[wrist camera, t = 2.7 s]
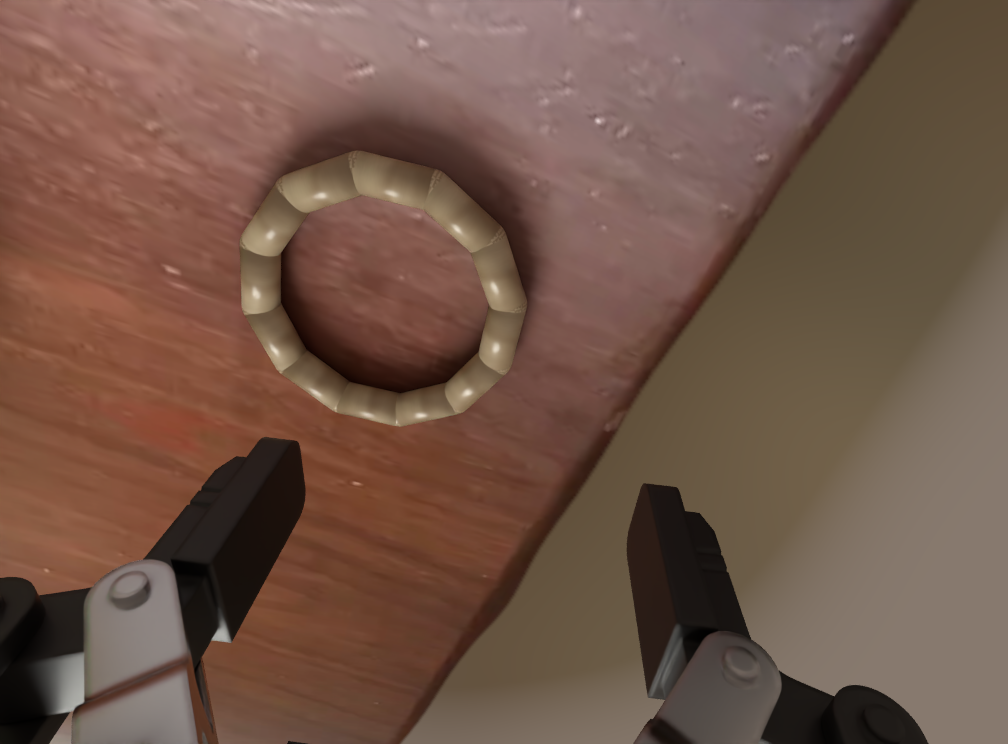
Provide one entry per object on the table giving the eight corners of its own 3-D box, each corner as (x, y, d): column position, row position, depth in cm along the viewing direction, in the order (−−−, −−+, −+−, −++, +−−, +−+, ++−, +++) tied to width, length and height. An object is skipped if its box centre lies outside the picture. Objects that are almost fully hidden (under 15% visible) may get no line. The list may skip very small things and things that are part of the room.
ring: (469, 109, 18) (463, 113, 17) (555, 381, 23) (555, 399, 22) (197, 204, 20) (174, 214, 19) (328, 432, 25) (317, 451, 24)
